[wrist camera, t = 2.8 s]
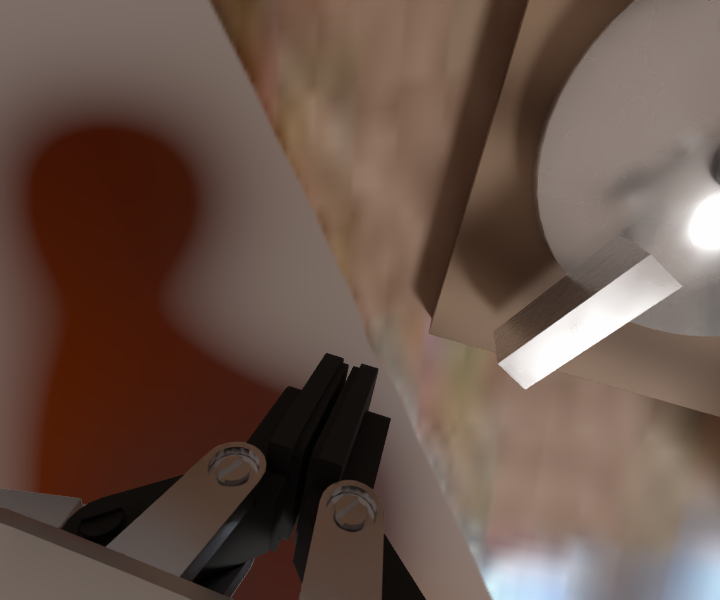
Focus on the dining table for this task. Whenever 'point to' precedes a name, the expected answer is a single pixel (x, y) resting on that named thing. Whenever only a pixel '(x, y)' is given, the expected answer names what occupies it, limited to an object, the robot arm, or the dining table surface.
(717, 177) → the post and dowel
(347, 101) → the dining table surface
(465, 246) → the base board
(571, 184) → the flange plate
